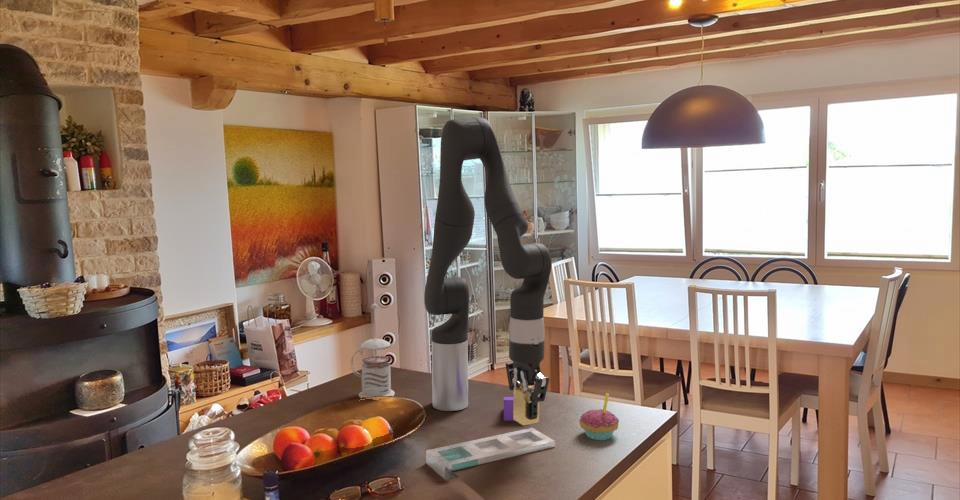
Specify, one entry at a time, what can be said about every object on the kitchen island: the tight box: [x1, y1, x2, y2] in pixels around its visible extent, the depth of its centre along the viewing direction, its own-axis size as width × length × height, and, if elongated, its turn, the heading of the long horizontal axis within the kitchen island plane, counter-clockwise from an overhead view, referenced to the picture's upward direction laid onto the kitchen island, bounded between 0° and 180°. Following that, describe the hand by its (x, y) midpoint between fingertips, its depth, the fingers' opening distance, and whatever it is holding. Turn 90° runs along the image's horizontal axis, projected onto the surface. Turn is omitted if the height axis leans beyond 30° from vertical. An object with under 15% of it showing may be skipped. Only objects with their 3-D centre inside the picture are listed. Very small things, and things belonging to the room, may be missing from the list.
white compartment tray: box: [425, 427, 556, 480], centre depth 145 cm, size 9×26×3 cm, turn 118°
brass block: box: [512, 385, 540, 427], centre depth 149 cm, size 4×4×7 cm
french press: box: [350, 303, 396, 399], centre depth 187 cm, size 10×12×25 cm
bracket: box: [503, 396, 516, 422], centre depth 169 cm, size 12×7×7 cm, turn 178°
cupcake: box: [579, 390, 620, 441], centre depth 153 cm, size 9×8×12 cm
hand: (526, 414), depth 149 cm, fingers closed on brass block, 4 cm apart
